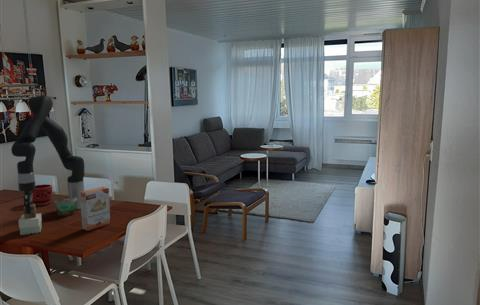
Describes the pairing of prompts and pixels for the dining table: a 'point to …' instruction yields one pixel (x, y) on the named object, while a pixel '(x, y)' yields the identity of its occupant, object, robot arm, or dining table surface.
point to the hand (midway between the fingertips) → (29, 211)
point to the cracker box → (95, 208)
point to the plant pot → (42, 195)
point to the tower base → (30, 230)
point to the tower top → (30, 221)
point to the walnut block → (33, 212)
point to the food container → (66, 207)
